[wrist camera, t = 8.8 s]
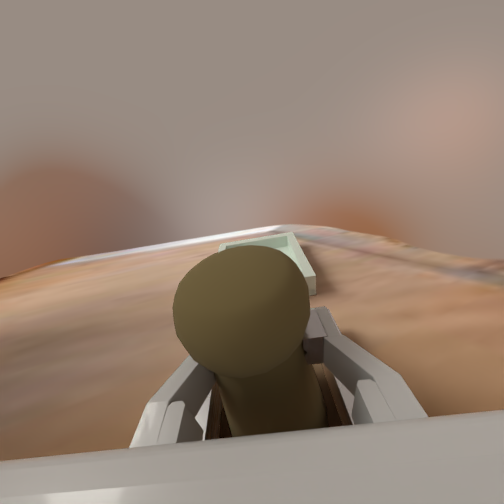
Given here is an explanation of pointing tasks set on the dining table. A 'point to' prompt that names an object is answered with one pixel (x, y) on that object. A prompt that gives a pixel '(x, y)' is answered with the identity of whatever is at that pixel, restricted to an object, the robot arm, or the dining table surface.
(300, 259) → the sage tray
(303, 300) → the cork
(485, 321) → the dining table surface
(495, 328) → the dining table surface
